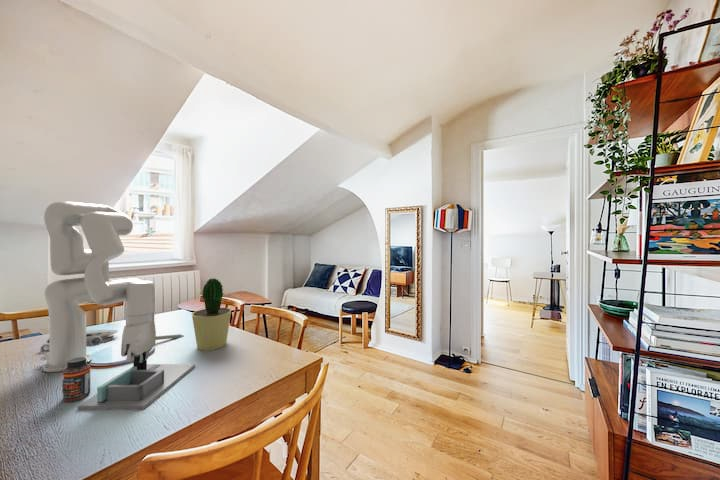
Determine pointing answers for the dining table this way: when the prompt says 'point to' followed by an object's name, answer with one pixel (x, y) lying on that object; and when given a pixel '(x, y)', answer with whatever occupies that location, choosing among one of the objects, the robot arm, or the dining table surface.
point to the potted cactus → (211, 318)
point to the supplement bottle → (76, 380)
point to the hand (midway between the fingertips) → (140, 372)
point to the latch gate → (115, 383)
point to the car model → (90, 338)
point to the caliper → (168, 336)
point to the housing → (140, 387)
